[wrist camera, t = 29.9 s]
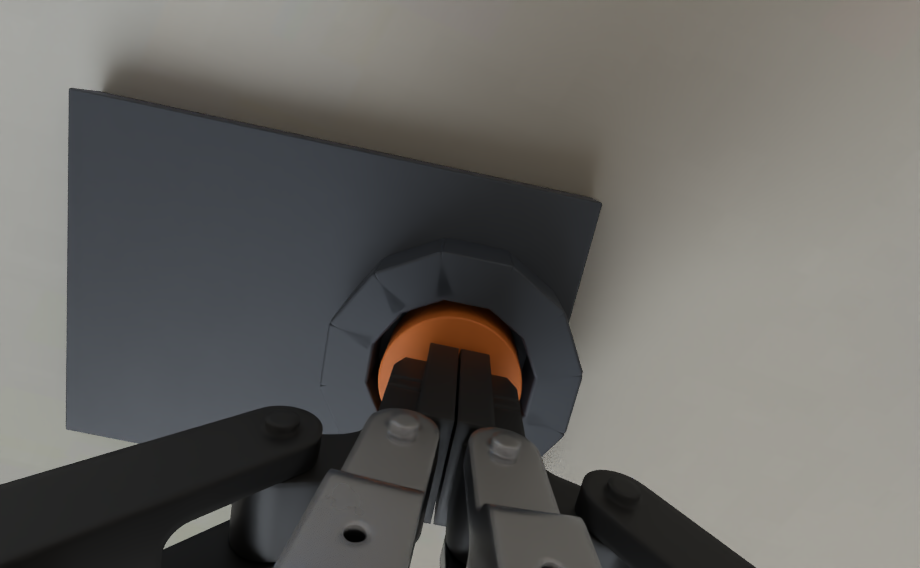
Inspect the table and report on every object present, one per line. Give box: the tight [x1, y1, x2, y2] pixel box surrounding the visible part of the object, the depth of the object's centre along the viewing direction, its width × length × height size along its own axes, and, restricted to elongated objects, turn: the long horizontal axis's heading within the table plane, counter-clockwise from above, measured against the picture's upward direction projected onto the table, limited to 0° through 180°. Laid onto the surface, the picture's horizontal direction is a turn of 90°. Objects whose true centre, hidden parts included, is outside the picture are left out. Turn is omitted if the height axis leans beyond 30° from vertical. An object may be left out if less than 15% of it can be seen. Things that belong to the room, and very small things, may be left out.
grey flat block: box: [66, 88, 602, 456], centre depth 15 cm, size 14×10×3 cm
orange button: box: [378, 300, 522, 401], centre depth 14 cm, size 4×4×2 cm
